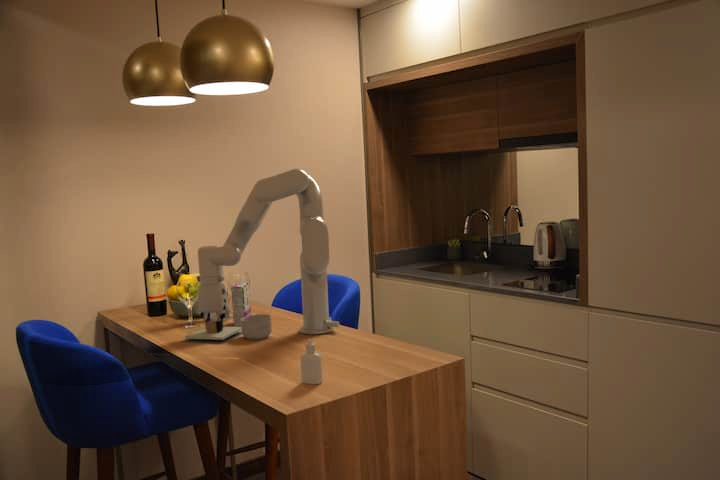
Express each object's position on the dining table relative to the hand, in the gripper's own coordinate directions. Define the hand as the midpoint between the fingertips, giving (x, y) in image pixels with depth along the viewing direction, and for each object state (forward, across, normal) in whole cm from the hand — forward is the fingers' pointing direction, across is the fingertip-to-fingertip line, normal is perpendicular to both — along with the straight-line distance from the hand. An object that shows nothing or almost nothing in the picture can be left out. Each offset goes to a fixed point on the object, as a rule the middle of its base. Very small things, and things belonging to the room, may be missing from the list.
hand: (214, 330), depth 228 cm
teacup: (+3, -16, -4) cm, 16 cm away
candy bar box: (+3, 0, -20) cm, 20 cm away
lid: (+1, 0, 0) cm, 1 cm away
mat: (+3, 0, 0) cm, 3 cm away
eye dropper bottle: (+4, -54, +40) cm, 67 cm away
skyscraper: (+3, +16, -29) cm, 33 cm away
